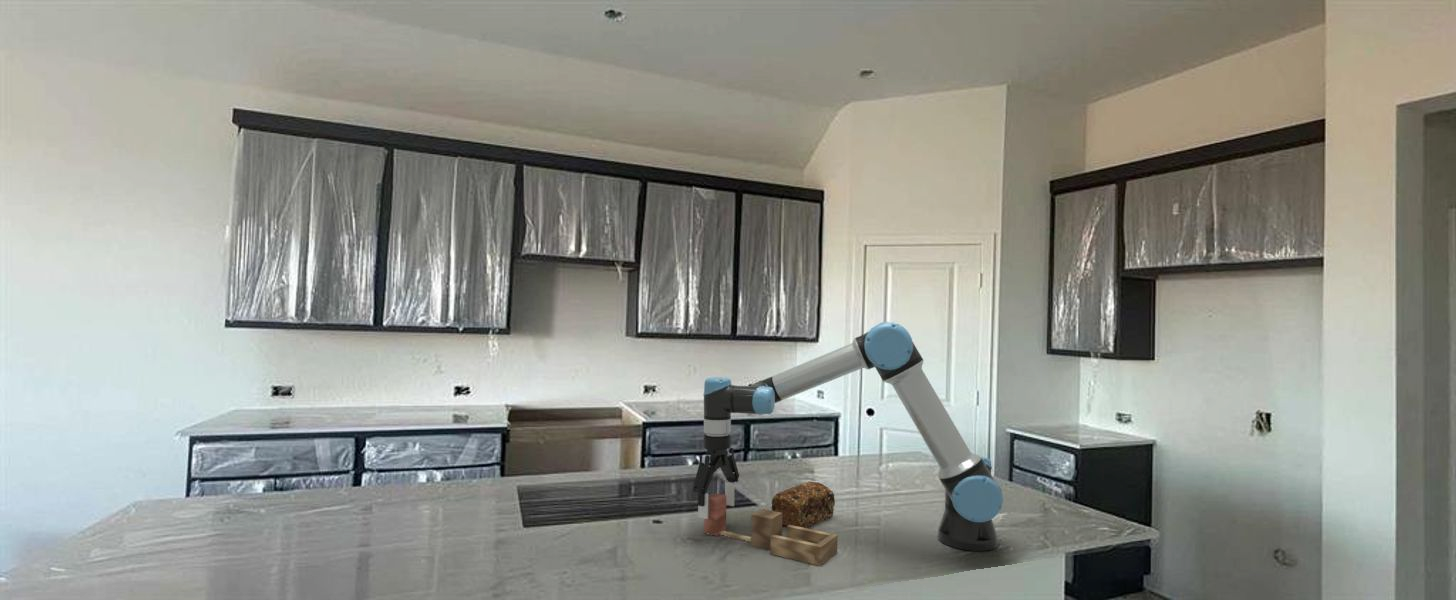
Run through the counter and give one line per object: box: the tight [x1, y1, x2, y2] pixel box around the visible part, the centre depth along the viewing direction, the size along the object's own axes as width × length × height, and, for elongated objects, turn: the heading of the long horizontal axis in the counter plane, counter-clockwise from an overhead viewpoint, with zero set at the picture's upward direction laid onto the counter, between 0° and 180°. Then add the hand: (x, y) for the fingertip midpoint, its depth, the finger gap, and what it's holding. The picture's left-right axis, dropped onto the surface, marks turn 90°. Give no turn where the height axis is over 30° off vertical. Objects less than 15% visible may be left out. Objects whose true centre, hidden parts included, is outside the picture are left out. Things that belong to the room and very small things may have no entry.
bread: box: [771, 481, 836, 528], centre depth 188 cm, size 19×11×10 cm, turn 136°
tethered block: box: [703, 492, 783, 551], centre depth 171 cm, size 21×6×10 cm, turn 59°
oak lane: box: [769, 525, 839, 566], centre depth 161 cm, size 14×11×4 cm
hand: (716, 511), depth 175 cm, fingers open, 13 cm apart
